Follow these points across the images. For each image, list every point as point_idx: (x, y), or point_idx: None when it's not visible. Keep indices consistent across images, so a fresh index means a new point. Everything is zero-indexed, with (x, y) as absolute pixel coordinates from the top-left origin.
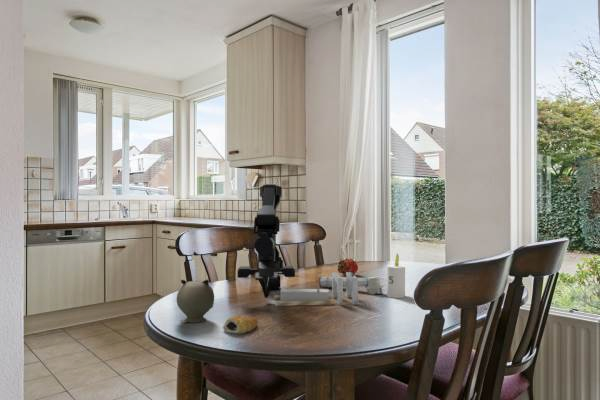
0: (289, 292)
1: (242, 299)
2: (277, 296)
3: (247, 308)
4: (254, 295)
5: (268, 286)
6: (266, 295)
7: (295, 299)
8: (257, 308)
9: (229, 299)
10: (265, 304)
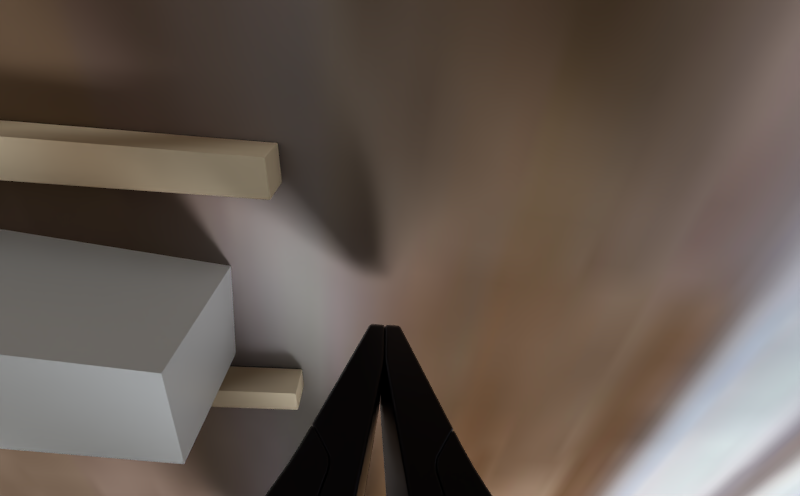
0: (9, 342)
1: (576, 389)
2: (266, 389)
3: (675, 77)
4: None
5: (341, 464)
6: (382, 342)
7: (5, 260)
8: (541, 49)
9: (674, 399)
10: (401, 226)
